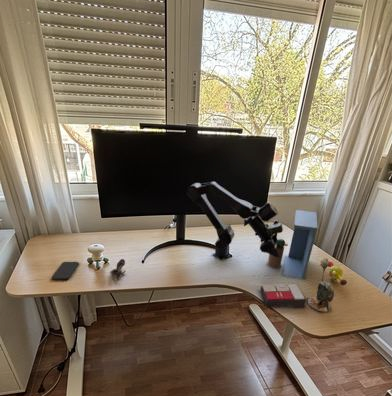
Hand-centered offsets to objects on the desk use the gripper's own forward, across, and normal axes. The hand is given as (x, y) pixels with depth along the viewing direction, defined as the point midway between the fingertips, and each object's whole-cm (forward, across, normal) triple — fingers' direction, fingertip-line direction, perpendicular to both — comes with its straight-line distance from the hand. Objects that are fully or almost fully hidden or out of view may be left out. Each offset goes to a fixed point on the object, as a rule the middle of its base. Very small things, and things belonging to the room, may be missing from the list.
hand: (279, 252), depth 137 cm
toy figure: (+23, -6, -13) cm, 27 cm away
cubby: (+10, +2, -1) cm, 11 cm away
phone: (-58, -40, +67) cm, 97 cm away
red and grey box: (+8, -28, +2) cm, 29 cm away
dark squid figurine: (-41, -35, +51) cm, 74 cm away
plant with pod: (+18, -28, -8) cm, 35 cm away
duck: (+4, 0, +6) cm, 7 cm away
